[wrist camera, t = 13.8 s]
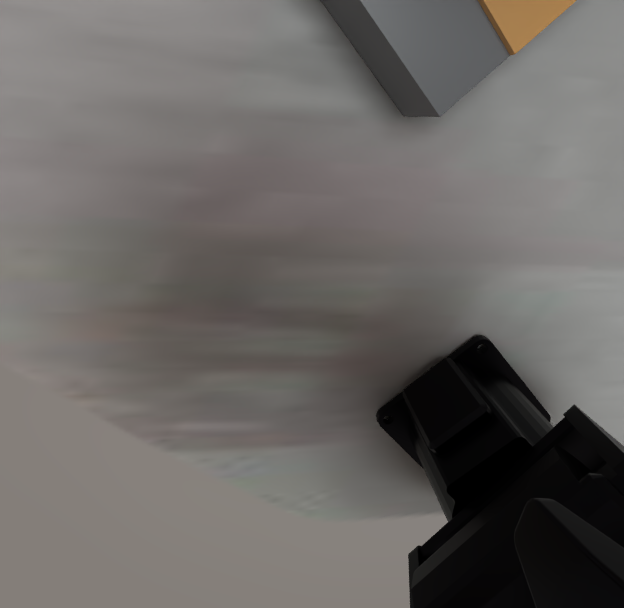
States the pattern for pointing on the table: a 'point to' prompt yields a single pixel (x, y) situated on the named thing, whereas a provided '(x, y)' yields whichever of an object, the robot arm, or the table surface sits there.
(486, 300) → the table surface
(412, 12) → the grey peg socket base
